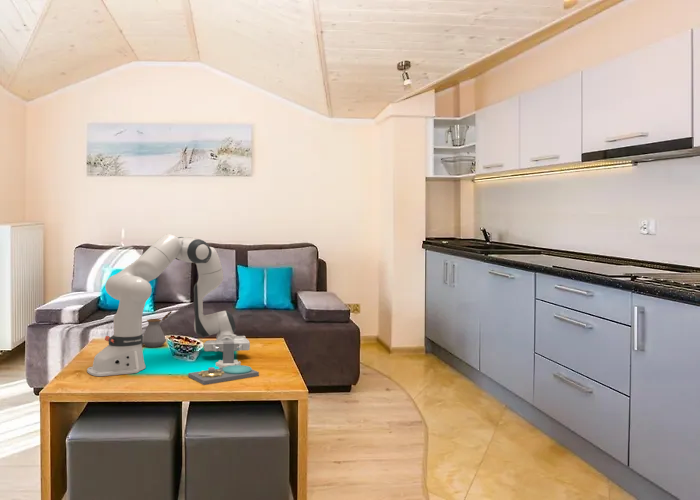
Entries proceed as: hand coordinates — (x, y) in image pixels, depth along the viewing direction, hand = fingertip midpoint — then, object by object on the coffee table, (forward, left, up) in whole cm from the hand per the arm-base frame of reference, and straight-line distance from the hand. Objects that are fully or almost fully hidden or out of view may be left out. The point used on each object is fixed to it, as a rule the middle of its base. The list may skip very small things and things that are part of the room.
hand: (227, 349), depth 268 cm
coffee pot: (-9, +53, -6) cm, 54 cm away
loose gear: (-2, -5, -6) cm, 8 cm away
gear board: (-12, -20, -6) cm, 24 cm away
